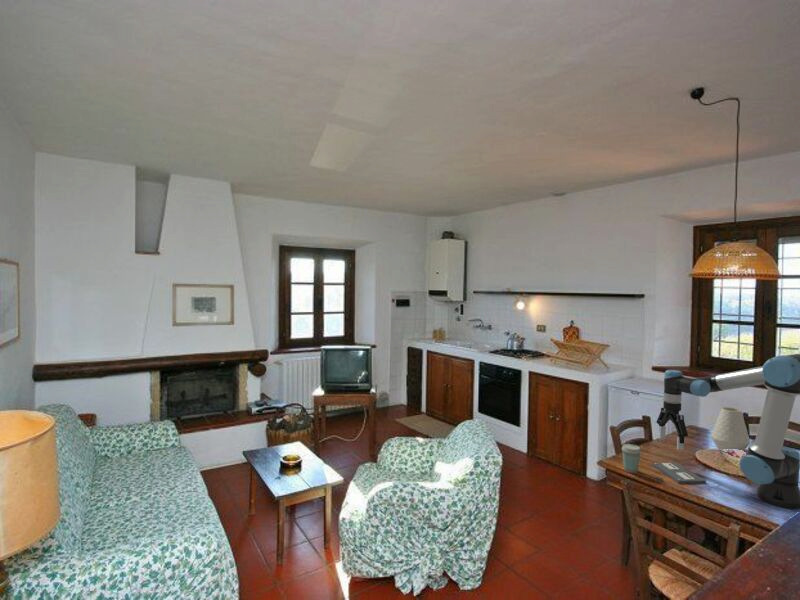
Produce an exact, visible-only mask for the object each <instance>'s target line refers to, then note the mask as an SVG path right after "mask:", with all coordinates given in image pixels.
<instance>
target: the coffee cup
mask: <svg viewBox="0 0 800 600" xmlns="http://www.w3.org/2000/svg"><path fill="white" fill-rule="evenodd" d="M621 452H622V461H623V470H624V471H625V472H626V473H630V474H637V473H638V471H639V469H638V468H639V464H640V458H641V454H642V450H641V448H640V447H639V446H638V445H636V444H633V443H632V444H631V443H624V444H623V445H622V447H621Z"/></svg>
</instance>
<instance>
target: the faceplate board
mask: <svg viewBox="0 0 800 600" xmlns="http://www.w3.org/2000/svg"><path fill="white" fill-rule="evenodd" d="M651 466H652V467H653V468H656V469H657V470H658V471H660V472H661V473H662V472H663V473H662V474H664V475H665V474H666V475H665V476H666V477H668V476H669V477H668V478H670V479H671V480H672V479H673V481H674V482H675V481H676V482H675V483H677V484H706V480H705V479H703V478H702V477H701V476H699V475H698V474H696V473H694V472H692V471H691V470H690V469H688V468H687V467H684V466H683V465H682V464H680V463H678V462H652V463H651Z"/></svg>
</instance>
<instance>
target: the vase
mask: <svg viewBox="0 0 800 600" xmlns="http://www.w3.org/2000/svg"><path fill="white" fill-rule="evenodd" d="M748 433H749V432H748V430H747V426H746V422H745V419H744V415H743V413H742V410H741V409H739V408H734V407H729V406H728V407H727V406H723V407H721V408H720V410H719V413H718V416H717V419H716V420H715V423H714V426H713V428H712V430H711V433H710V438H711V439H712V440H713V443H714V444H715V446H716V448H717V449H718V450H719V451H720V449H738V450H744V451H746V449H747V447H749V445H750V444H751V440H750V436H749V434H748Z"/></svg>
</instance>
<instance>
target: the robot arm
mask: <svg viewBox="0 0 800 600" xmlns="http://www.w3.org/2000/svg"><path fill="white" fill-rule="evenodd" d="M663 383H664V384H663V405H662V406H663V407H660V412H659V415H658V418H657V419H656V424H657V425H658V426H659V430H658V431H659V435H658V436H659V440H666V433H667V431H666V430H667V427H666V424H667V423H668V422H669V421H670V422H671V423H673V425H674V427H675V431H676V432H677V434H678V435H677V439H676V449H677V450H681V451H682V450H684V448H685V447H684V445H685V437H689V434H688V430H687V427H686V426H687V425H686V422H685V416H684V414H680V412H681V411H682V395H683V393H685V394H688V395H692V396H695V397H703V398H704V397H707V396H708V395H709V394H710V393H718V392H723V391H728V390H734V389H735V390H736V389H741V388H747V387H754V386H760V385H764V386H765V387H766V389H767V392H766V396H765V401H764V404H763V408H762V413H761V416H760V420H759V423H758V424H759V425H758V428H757V432H756V435H755V440H754V442H753V443H750V444H749V445H748V449H747V453H746V454H744V455H743V456H741V458H740V460H739V463H738V464H739V465H738V466H739V469H740V471H741V473H743V476H744V477H745V478H746V479H748V481H750V482H752V483H755V484H758V485H759V486H758V487H757V488H756V496H757V497H758V498H759V499H760V500H762V501H764V502H766V503H768V504H771V505H774V506H777V507H781V508H785V509H795V508H798V509H800V488H799V480H800V479H799V478H800V452H799V451H797V450H796V449H793V448H791V447H787V446H784V442H785V438H786V435H787V431H788V428H789V423H790V420H791V416H792V411H793V409H794V408H793V407H794V406H795V405H794V404H795V400H796V397H797V396H799V395H800V353H797V354H795V353H794V354H786V355H785V354H784V355H776V356H774V357H771V358H768V359H767V360H766V361H765V362H764V363H763V365H762V366H757V367H751V368H746V369H741V370H735V371H731V372H726V373H720V374H714V375H708V376H704V377H703V376H702V377H701V376H700V377H695V378H694V377H693V378H692V377H687V376H684V374H683V372H682V371H680V370H677V369H666V370H665V371H664V377H663Z"/></svg>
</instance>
